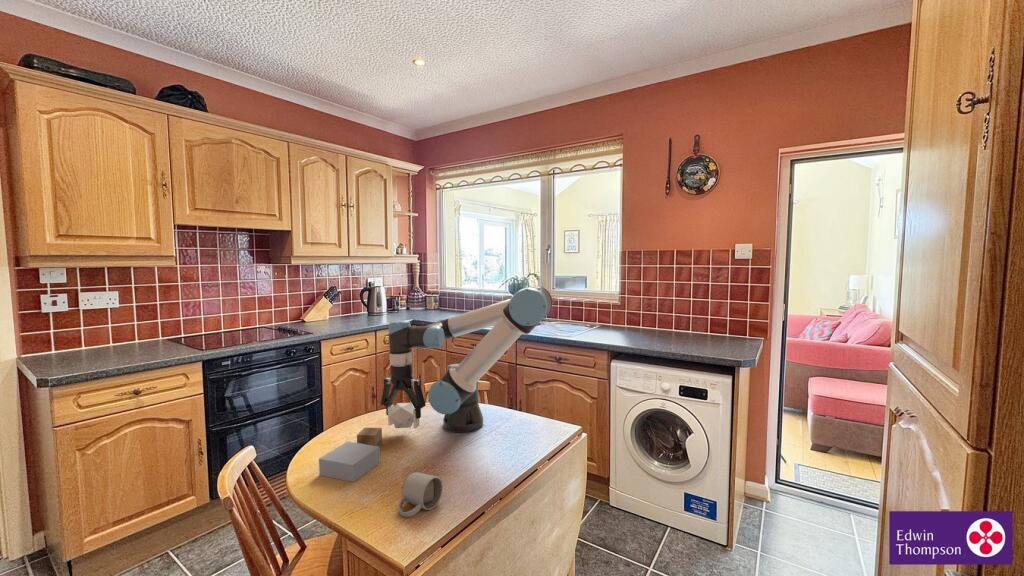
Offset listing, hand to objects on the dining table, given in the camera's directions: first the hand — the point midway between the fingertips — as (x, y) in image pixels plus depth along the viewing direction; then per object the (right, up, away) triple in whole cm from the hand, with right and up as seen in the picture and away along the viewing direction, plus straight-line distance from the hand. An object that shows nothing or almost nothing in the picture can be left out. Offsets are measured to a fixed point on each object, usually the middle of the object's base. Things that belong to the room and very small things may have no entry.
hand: (404, 425), depth 148 cm
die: (0, 0, 0) cm, 0 cm away
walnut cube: (-9, -4, -11) cm, 14 cm away
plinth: (-10, -5, -24) cm, 26 cm away
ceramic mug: (+15, -6, -43) cm, 46 cm away
